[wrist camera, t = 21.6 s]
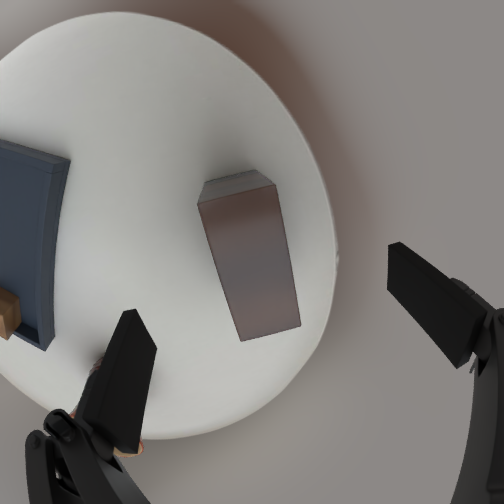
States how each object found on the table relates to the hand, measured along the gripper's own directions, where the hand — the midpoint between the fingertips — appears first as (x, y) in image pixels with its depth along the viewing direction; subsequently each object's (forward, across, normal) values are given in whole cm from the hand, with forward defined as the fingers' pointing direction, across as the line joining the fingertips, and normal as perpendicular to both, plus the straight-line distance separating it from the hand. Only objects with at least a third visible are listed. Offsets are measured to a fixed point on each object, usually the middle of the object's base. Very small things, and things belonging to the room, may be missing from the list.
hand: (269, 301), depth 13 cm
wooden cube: (+10, -30, -1) cm, 32 cm away
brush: (+12, 0, 0) cm, 12 cm away
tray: (+12, -26, +6) cm, 29 cm away
